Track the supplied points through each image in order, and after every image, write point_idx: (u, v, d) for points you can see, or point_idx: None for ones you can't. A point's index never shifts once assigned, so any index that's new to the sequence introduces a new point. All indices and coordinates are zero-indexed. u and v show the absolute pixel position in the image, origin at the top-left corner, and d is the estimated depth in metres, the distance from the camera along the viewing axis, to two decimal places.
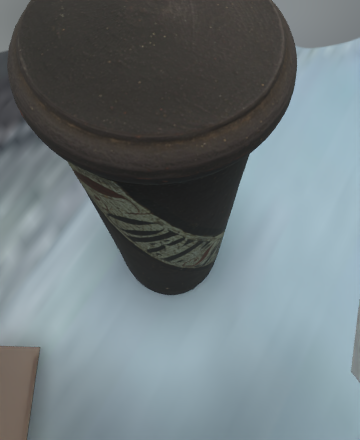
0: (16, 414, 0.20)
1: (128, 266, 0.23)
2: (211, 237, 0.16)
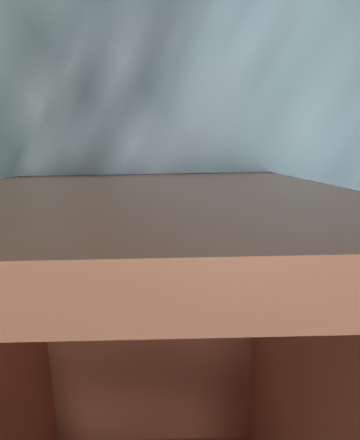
0: None
1: None
2: None
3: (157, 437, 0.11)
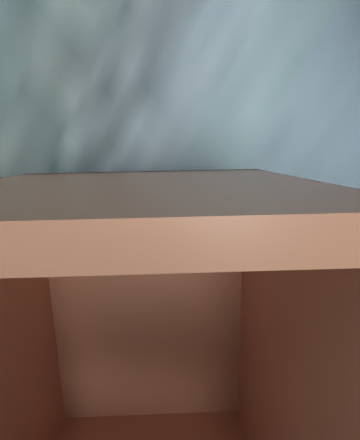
0: None
1: None
2: None
3: (155, 412, 0.12)
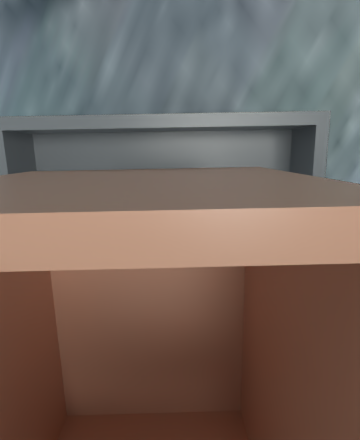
0: None
1: None
2: None
3: (157, 411, 0.12)
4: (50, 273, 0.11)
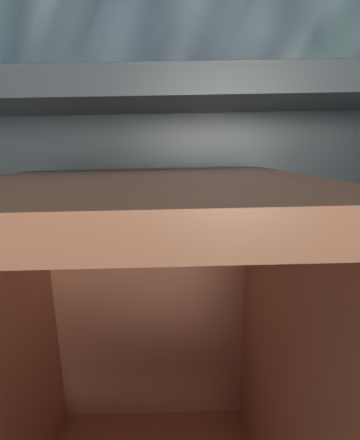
0: None
1: None
2: None
3: (157, 411, 0.12)
4: (50, 273, 0.11)
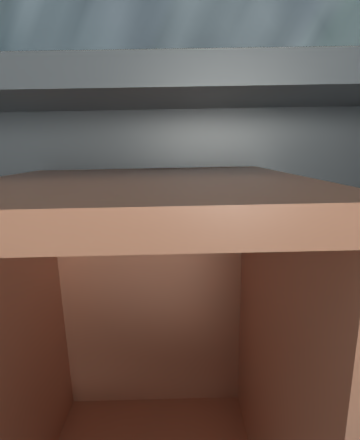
0: None
1: None
2: None
3: (158, 397, 0.13)
4: (57, 266, 0.11)
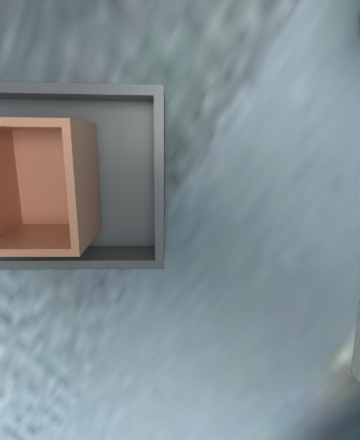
0: (93, 170, 0.28)
1: None
2: None
3: (59, 223, 0.30)
4: (15, 162, 0.28)
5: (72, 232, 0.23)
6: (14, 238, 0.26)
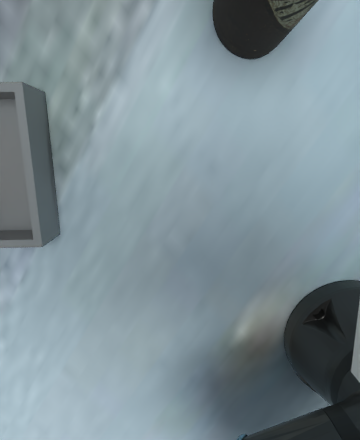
0: None
1: (225, 31, 0.29)
2: None
3: None
4: None
5: None
6: None
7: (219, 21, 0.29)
